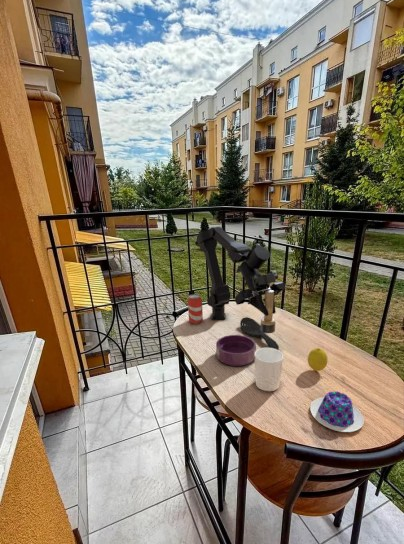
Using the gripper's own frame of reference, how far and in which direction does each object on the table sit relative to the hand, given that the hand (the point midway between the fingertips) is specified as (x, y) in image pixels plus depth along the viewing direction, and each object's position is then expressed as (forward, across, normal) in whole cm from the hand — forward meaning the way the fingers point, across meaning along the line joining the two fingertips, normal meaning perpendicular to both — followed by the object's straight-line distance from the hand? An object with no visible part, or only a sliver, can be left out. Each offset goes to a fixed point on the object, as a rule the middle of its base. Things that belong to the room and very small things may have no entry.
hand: (271, 314), depth 96 cm
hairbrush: (+3, +3, +16) cm, 17 cm away
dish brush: (+4, 0, +6) cm, 7 cm away
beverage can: (-15, -11, +35) cm, 40 cm away
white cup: (+20, -14, -1) cm, 25 cm away
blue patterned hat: (+33, -8, -14) cm, 37 cm away
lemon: (+22, +3, -3) cm, 23 cm away
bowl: (+8, -13, +11) cm, 19 cm away
